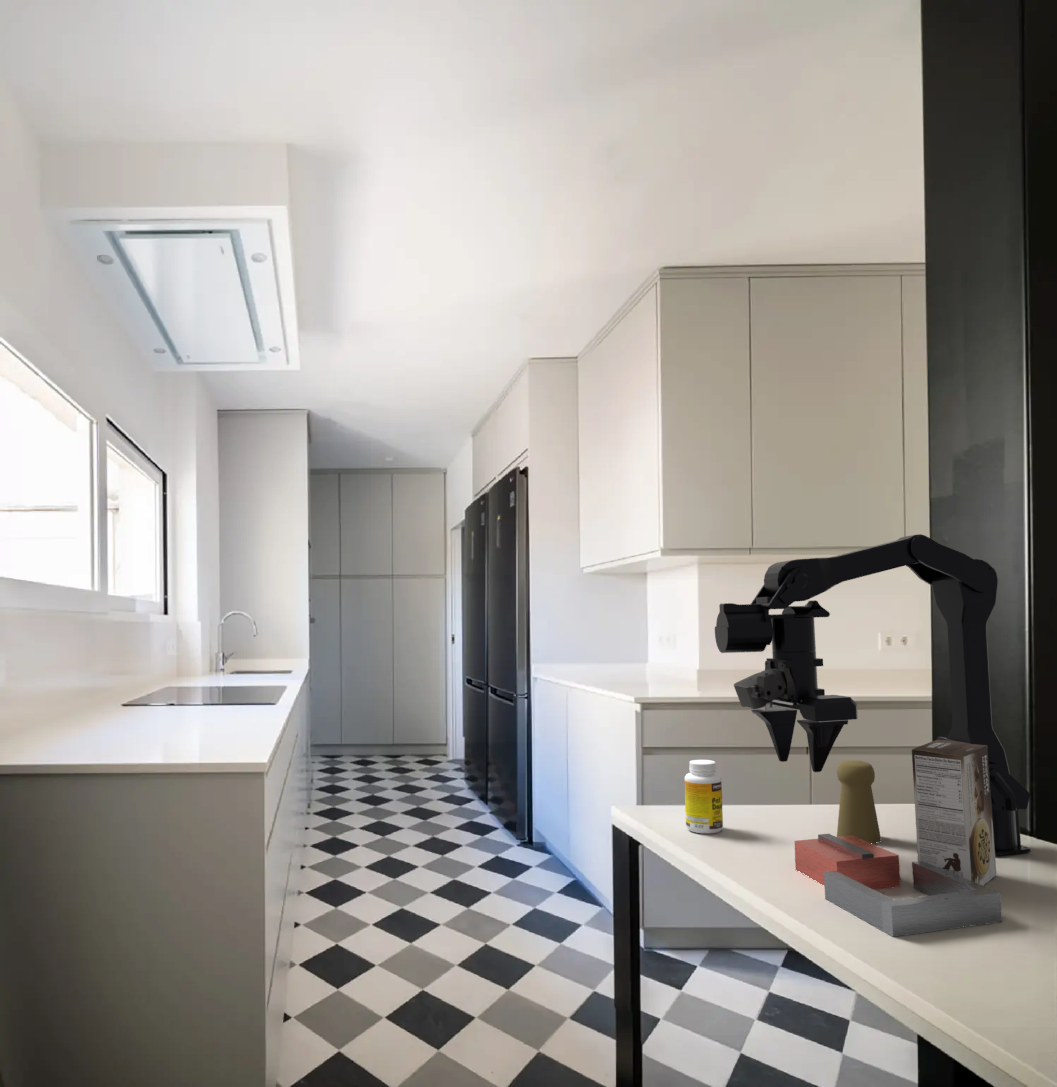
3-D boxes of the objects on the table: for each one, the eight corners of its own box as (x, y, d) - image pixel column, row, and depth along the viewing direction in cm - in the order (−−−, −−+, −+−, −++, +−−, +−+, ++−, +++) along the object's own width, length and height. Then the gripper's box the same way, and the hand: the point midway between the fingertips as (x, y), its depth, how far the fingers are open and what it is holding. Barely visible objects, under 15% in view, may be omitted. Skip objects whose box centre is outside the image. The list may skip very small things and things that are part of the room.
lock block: (853, 866, 106) (852, 831, 107) (900, 889, 97) (898, 850, 98) (795, 872, 104) (794, 836, 104) (838, 896, 95) (836, 857, 96)
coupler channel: (924, 886, 97) (922, 860, 97) (1001, 921, 86) (1000, 892, 86) (825, 898, 94) (823, 871, 94) (892, 936, 83) (891, 906, 83)
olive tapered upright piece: (885, 844, 114) (881, 765, 115) (840, 843, 116) (836, 764, 116) (876, 833, 120) (872, 757, 121) (833, 831, 121) (829, 757, 122)
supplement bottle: (716, 836, 120) (714, 766, 121) (680, 832, 123) (678, 763, 124) (728, 827, 125) (725, 759, 126) (693, 823, 128) (691, 757, 128)
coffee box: (943, 865, 105) (935, 738, 106) (998, 876, 101) (989, 743, 102) (916, 882, 99) (908, 747, 100) (974, 895, 94) (965, 753, 95)
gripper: (709, 650, 119) (713, 758, 118) (779, 656, 101) (785, 784, 100) (776, 647, 122) (781, 753, 120) (856, 653, 104) (863, 778, 102)
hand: (799, 766), depth 111 cm, fingers open, 8 cm apart
